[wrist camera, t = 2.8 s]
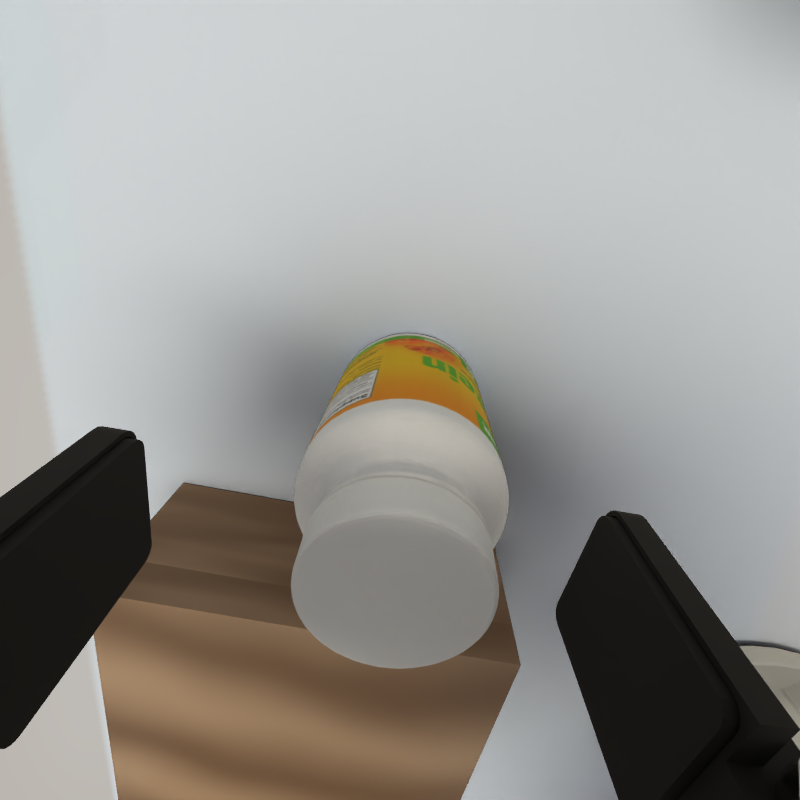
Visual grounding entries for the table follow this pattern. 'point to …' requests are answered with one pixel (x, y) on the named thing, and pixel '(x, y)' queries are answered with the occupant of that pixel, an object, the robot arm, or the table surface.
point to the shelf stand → (274, 677)
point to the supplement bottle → (400, 509)
